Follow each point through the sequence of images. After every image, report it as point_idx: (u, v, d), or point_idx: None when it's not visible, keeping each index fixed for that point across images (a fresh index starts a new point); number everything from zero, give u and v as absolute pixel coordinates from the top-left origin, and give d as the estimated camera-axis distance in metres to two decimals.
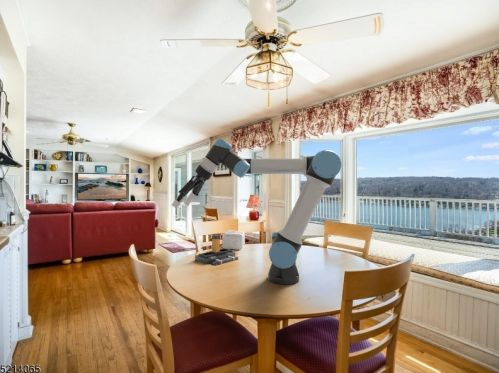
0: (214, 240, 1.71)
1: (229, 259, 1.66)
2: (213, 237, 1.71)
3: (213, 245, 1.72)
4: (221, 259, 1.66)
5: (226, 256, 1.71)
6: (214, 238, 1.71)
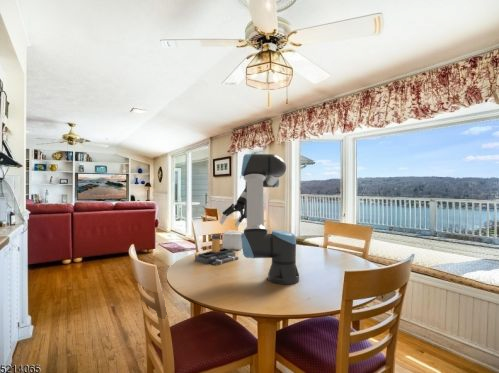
0: (214, 240, 1.71)
1: (229, 259, 1.66)
2: (213, 237, 1.71)
3: (213, 245, 1.72)
4: (221, 259, 1.66)
5: (226, 256, 1.71)
6: (214, 238, 1.71)
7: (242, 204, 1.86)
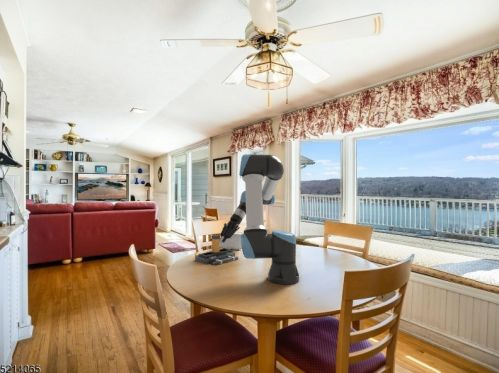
0: (214, 240, 1.70)
1: (229, 259, 1.66)
2: (213, 237, 1.71)
3: (212, 245, 1.71)
4: (221, 259, 1.66)
5: (226, 256, 1.71)
6: (214, 238, 1.70)
7: (236, 221, 1.81)
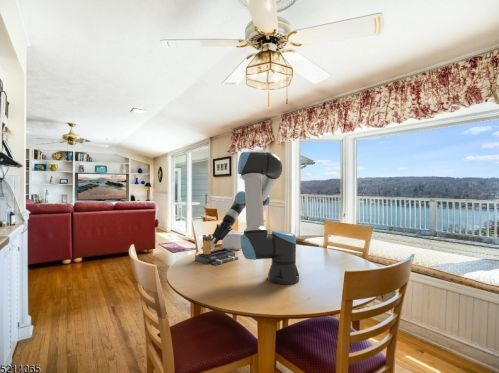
0: (205, 242, 1.65)
1: (229, 259, 1.66)
2: (204, 239, 1.66)
3: (203, 247, 1.66)
4: (221, 259, 1.66)
5: (226, 256, 1.71)
6: (205, 240, 1.65)
7: (229, 222, 1.76)
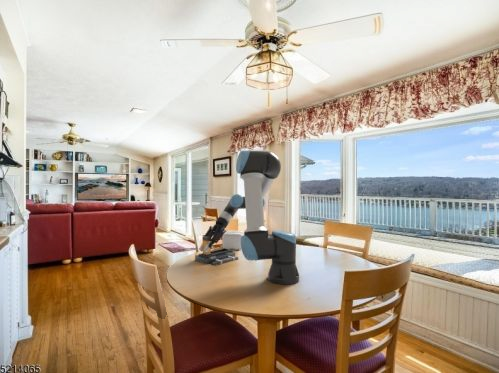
0: (205, 242, 1.65)
1: (229, 259, 1.66)
2: (204, 239, 1.66)
3: (203, 247, 1.66)
4: (221, 259, 1.66)
5: (226, 256, 1.71)
6: (205, 240, 1.65)
7: (222, 225, 1.72)
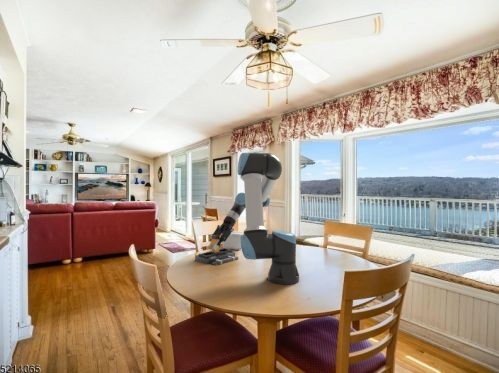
0: (213, 241, 1.70)
1: (229, 259, 1.66)
2: (212, 237, 1.71)
3: (212, 245, 1.71)
4: (221, 259, 1.66)
5: (226, 256, 1.71)
6: (213, 238, 1.70)
7: (229, 224, 1.77)
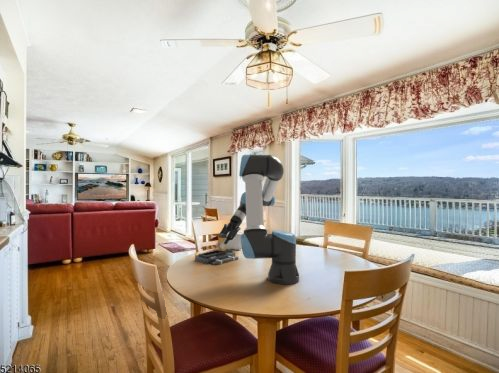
0: (221, 239, 1.75)
1: (229, 259, 1.66)
2: (220, 236, 1.75)
3: (219, 243, 1.76)
4: (221, 259, 1.66)
5: (226, 256, 1.71)
6: (221, 237, 1.75)
7: (236, 223, 1.81)
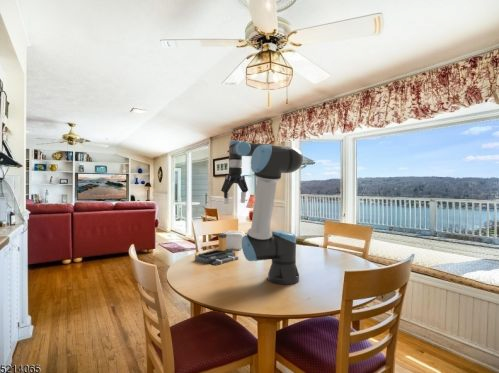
0: (221, 239, 1.75)
1: (229, 259, 1.66)
2: (220, 236, 1.75)
3: (219, 243, 1.76)
4: (221, 259, 1.66)
5: (226, 256, 1.71)
6: (221, 237, 1.75)
7: (239, 175, 1.66)
